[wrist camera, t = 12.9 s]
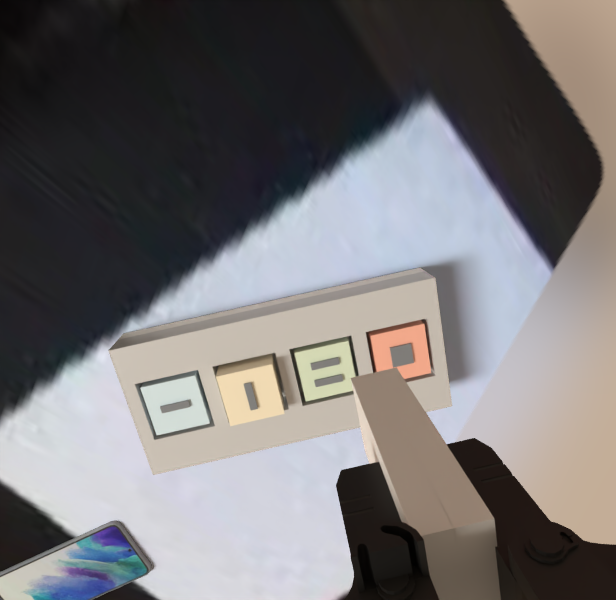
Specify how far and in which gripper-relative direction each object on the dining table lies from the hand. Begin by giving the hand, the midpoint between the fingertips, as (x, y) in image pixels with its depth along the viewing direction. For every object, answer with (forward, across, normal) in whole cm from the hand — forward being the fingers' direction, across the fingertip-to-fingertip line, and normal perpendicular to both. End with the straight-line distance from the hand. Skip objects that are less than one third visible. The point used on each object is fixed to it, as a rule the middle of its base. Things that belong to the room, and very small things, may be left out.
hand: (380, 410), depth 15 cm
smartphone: (+27, -31, -27) cm, 49 cm away
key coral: (+25, +6, -9) cm, 27 cm away
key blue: (+25, -14, -9) cm, 30 cm away
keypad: (+26, -4, -9) cm, 28 cm away
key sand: (+23, -7, -9) cm, 26 cm away
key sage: (+25, -1, -9) cm, 26 cm away
